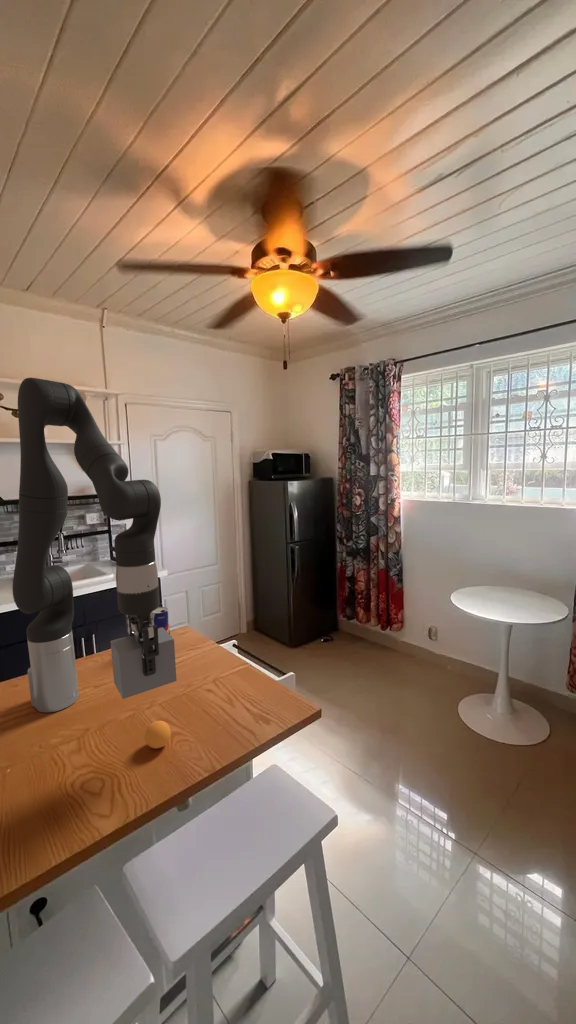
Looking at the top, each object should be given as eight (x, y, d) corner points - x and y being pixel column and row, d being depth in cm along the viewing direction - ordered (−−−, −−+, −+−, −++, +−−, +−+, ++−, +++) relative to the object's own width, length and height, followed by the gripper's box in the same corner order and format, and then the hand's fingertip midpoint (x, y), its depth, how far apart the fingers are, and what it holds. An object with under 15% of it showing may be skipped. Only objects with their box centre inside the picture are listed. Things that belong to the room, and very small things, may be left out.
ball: (156, 714, 84) (176, 719, 86) (141, 723, 85) (161, 728, 88) (153, 741, 80) (174, 745, 83) (138, 750, 82) (159, 753, 85)
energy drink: (165, 651, 124) (163, 613, 123) (149, 650, 125) (146, 612, 124) (173, 643, 130) (171, 607, 128) (158, 642, 131) (155, 606, 129)
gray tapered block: (122, 699, 76) (119, 654, 75) (114, 682, 82) (110, 640, 80) (176, 680, 82) (174, 639, 81) (165, 666, 87) (162, 627, 86)
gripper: (169, 591, 75) (175, 675, 78) (146, 572, 87) (151, 647, 89) (127, 600, 71) (134, 689, 73) (108, 579, 83) (115, 657, 85)
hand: (143, 666), depth 81 cm, fingers closed on gray tapered block, 7 cm apart
